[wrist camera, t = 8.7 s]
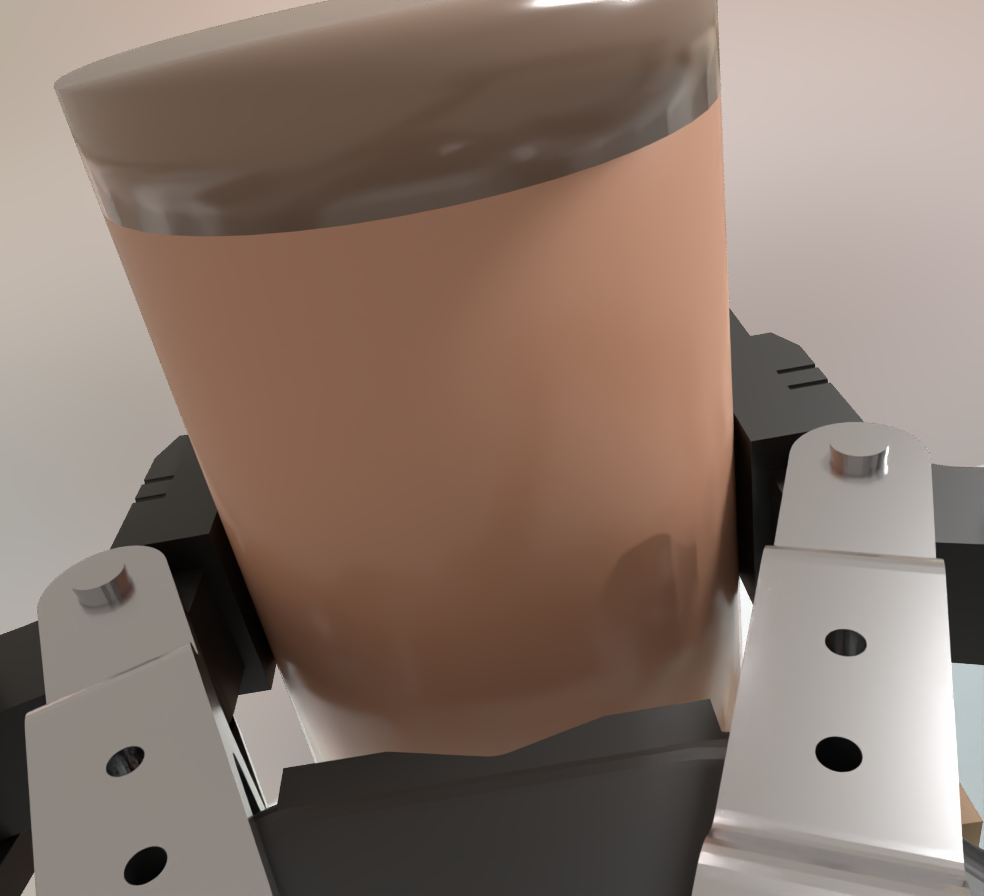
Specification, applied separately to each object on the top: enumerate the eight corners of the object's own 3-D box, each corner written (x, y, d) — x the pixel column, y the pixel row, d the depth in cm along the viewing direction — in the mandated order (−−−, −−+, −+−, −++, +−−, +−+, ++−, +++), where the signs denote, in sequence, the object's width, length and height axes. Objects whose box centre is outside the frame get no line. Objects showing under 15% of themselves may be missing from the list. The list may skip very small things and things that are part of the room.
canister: (697, 700, 16) (641, -61, 10) (807, 1030, 12) (823, -29, 6) (387, 750, 17) (154, 33, 11) (369, 1095, 12) (-77, 140, 6)
